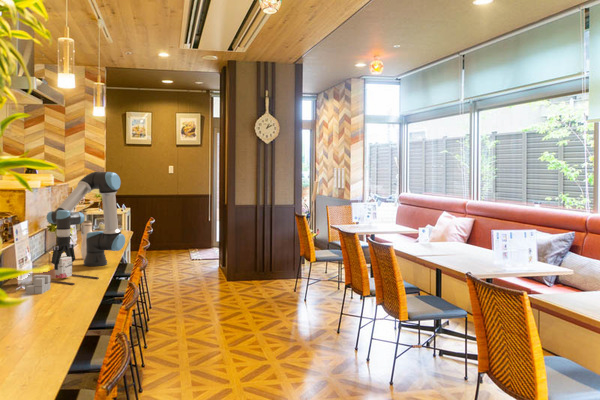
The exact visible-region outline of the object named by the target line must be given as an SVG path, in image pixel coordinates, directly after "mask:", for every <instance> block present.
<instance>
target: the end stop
mask: <svg viewBox="0 0 600 400" xmlns="http://www.w3.org/2000/svg"><path fill="white" fill-rule="evenodd" d="M52 268H53V269H52V270H50V271H48V272H43V273H40V272H39V275H50V280H53V279H57V278H56V275H55V269H54V267H52Z"/></svg>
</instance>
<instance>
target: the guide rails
mask: <svg viewBox="0 0 600 400" xmlns="http://www.w3.org/2000/svg"><path fill="white" fill-rule="evenodd" d="M71 277H76V278H84V279H93V280H100V279H99V278H100V276H91V275H83V274H75V273H72V276H71ZM50 283H53V284H62V285H69V286H70V285H71V286H74V285H75V283H74V282H69V281H61V280H53V279H50Z"/></svg>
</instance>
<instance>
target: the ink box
mask: <svg viewBox="0 0 600 400" xmlns="http://www.w3.org/2000/svg"><path fill="white" fill-rule="evenodd" d="M58 264H60V275H56V278H55V279H64V278H68V277H73V276H72V274H73V266H72V257H68V256H67V255H63V256H61V258H60V261H59V263H58Z"/></svg>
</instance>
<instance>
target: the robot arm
mask: <svg viewBox="0 0 600 400" xmlns="http://www.w3.org/2000/svg"><path fill="white" fill-rule="evenodd" d="M121 182H122V181H121V178H120V176H119V174H117V173H116V172H112V171H94V172H90V173H88V174H86V175H85V176H84V177H82V178H81V180H79V181H78V182H77V186H76V187H75V188H74V189H73V190H72V191H71V192H70V194H69V195H68V196H67V197H66V198H65V199H64V200H63V201H62V203H60V205H59V206H58V207H57V208H56V209H55V210H51V211H49V212H47V213H46V214H47V215H46V221H47V222H48V223H50V224H53V225H56V243H57V245H56V246H53V247H52V257H51V263H50V264H53V265H54V266H53V268H54V269H55V275H60V264H58V263H59V261H60V258H61V257H62V255H63V253H65V256H68V257H72V267H73V262H75V260H76V255H75V249H74V247H75V244H73V243H71V226H77V225H82V224H84V221H86V220H85V219H86V218H85V214H84V213H83V212H81V211H75V212H72V211H73V210H74V209H75V207H76V206H78V205H79V203H80V202H81V200H83V198H84V197H85V196H86V195H87V194H89V193H91V192H92V191H93V190H98V193H99V194H100V195H101V198H102V199H101V200H102V210H103V221H104V230H98V231H97V230H94V231H92V232H89V233H87V237H86V257H85V260H83V266H84V267H102V266H106V265H108V260H107V257H106V253H105V251H109V252H110V251H111V252H118V251H121V250H123V248H124V246H125V244H126V236H125V235H124V234H123V233H122V231H121V229H120V228H119V222H118V210H117V209H118V208H117V198H116V194H117V193H118V190H119V189H120V187H121V184H122V183H121Z"/></svg>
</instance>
